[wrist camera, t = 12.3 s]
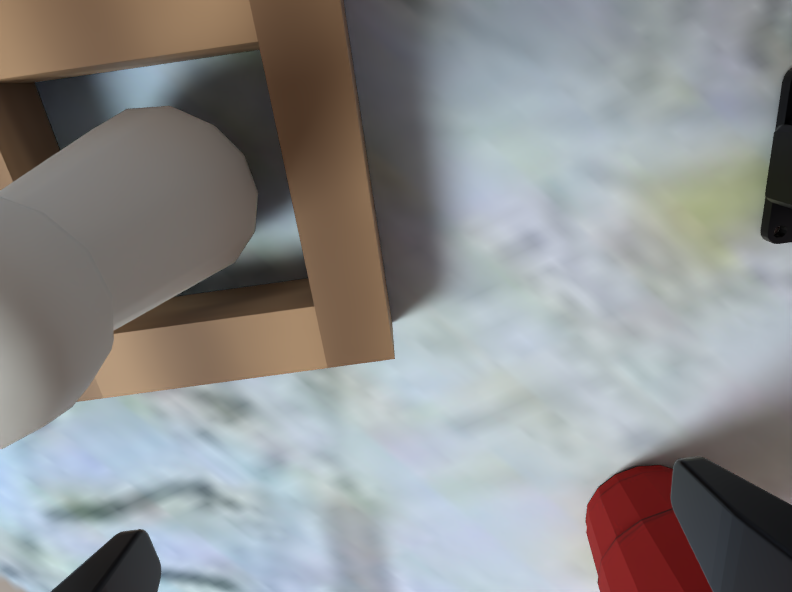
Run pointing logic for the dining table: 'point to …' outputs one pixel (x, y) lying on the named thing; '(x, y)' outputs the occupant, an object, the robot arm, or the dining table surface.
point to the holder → (304, 164)
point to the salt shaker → (109, 248)
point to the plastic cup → (641, 536)
